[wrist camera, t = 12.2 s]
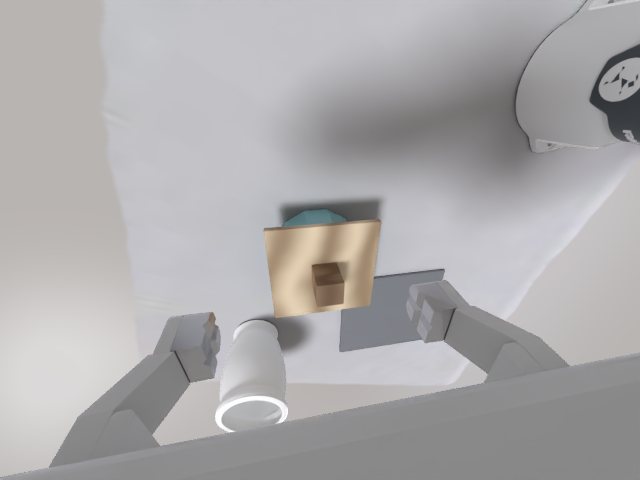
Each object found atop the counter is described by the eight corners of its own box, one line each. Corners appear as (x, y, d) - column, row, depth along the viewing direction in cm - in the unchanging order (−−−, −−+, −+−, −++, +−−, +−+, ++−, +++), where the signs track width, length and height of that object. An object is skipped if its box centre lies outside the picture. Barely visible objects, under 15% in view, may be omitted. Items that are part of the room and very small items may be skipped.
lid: (378, 218, 34) (395, 238, 30) (368, 302, 42) (380, 327, 38) (263, 228, 32) (263, 251, 28) (275, 314, 40) (275, 343, 35)
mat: (443, 268, 50) (444, 270, 50) (422, 337, 61) (423, 339, 60) (343, 280, 47) (343, 282, 47) (339, 350, 58) (339, 352, 57)
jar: (292, 336, 53) (300, 416, 40) (250, 358, 54) (244, 442, 41) (263, 306, 47) (261, 387, 35) (216, 331, 48) (197, 418, 36)
